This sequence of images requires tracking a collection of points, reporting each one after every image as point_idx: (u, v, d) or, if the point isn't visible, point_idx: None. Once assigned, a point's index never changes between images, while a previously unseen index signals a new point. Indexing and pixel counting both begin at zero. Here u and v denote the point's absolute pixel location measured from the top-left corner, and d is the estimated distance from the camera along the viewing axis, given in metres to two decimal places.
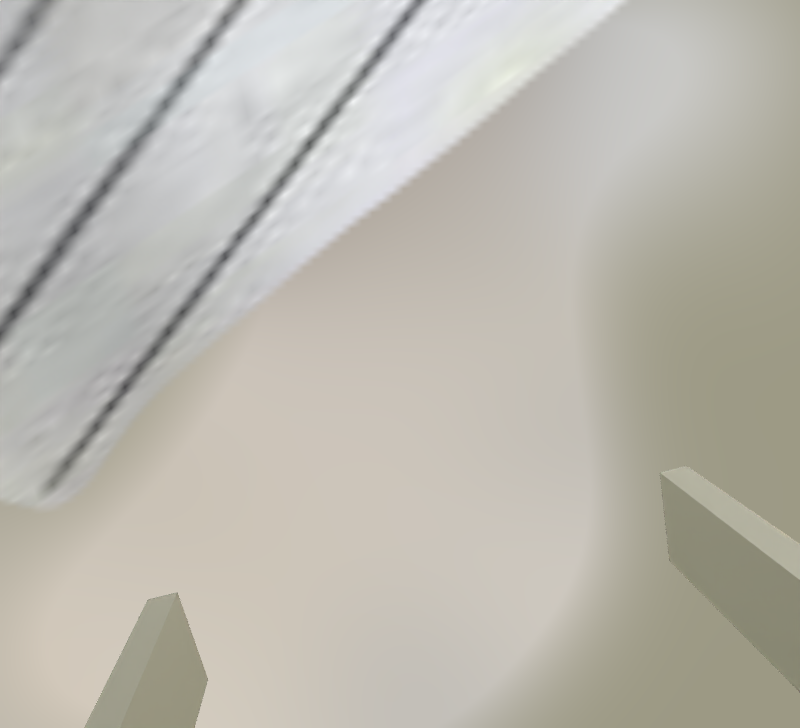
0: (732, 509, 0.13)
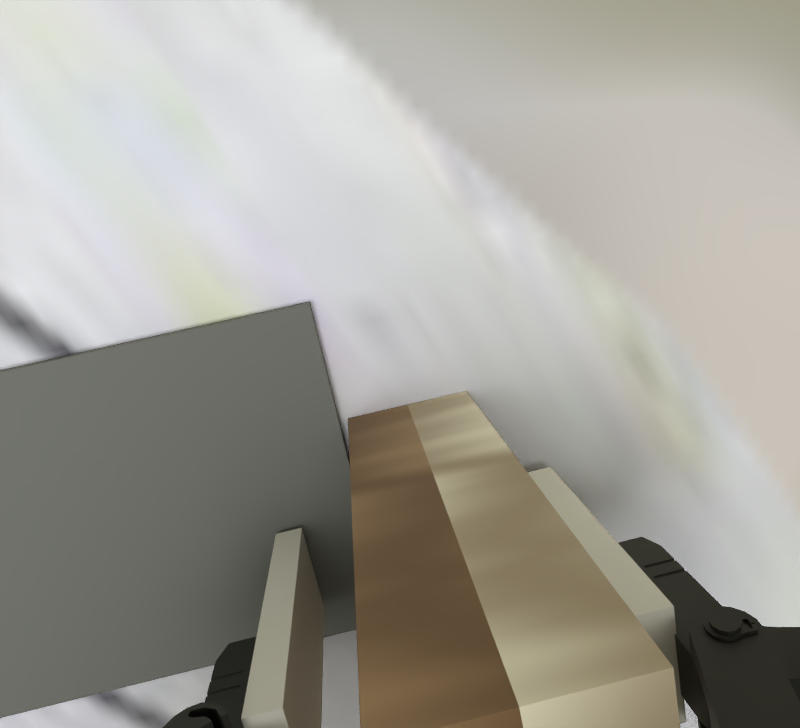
0: (571, 505, 0.15)
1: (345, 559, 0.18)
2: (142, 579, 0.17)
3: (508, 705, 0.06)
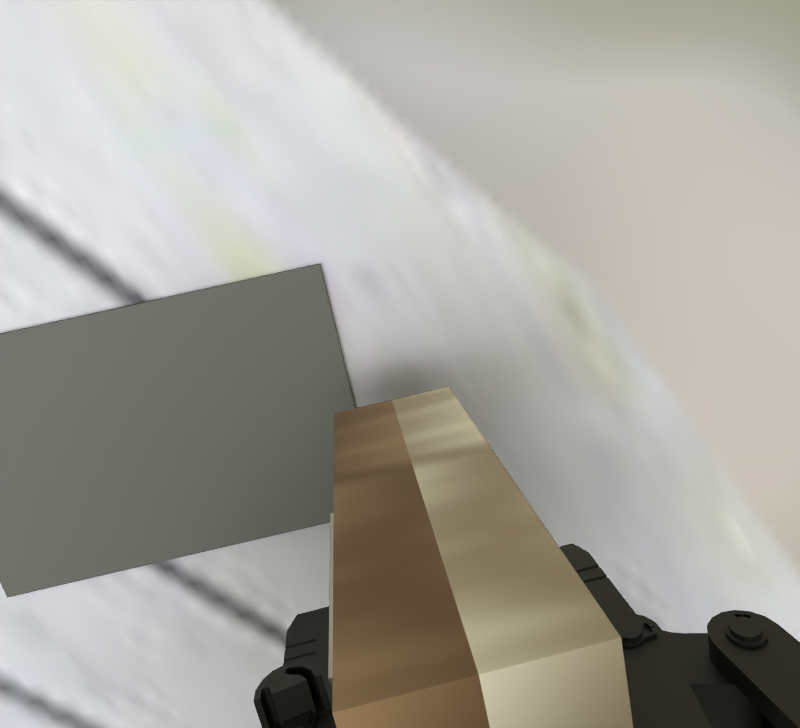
0: None
1: None
2: (194, 473, 0.23)
3: (468, 674, 0.07)
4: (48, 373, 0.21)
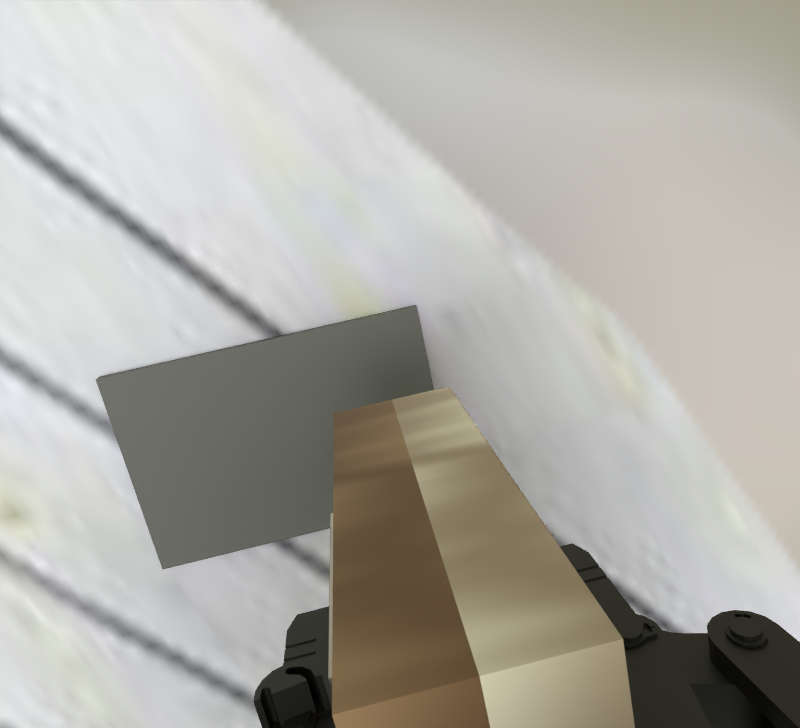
0: None
1: None
2: (314, 468, 0.29)
3: (469, 676, 0.07)
4: (208, 390, 0.28)
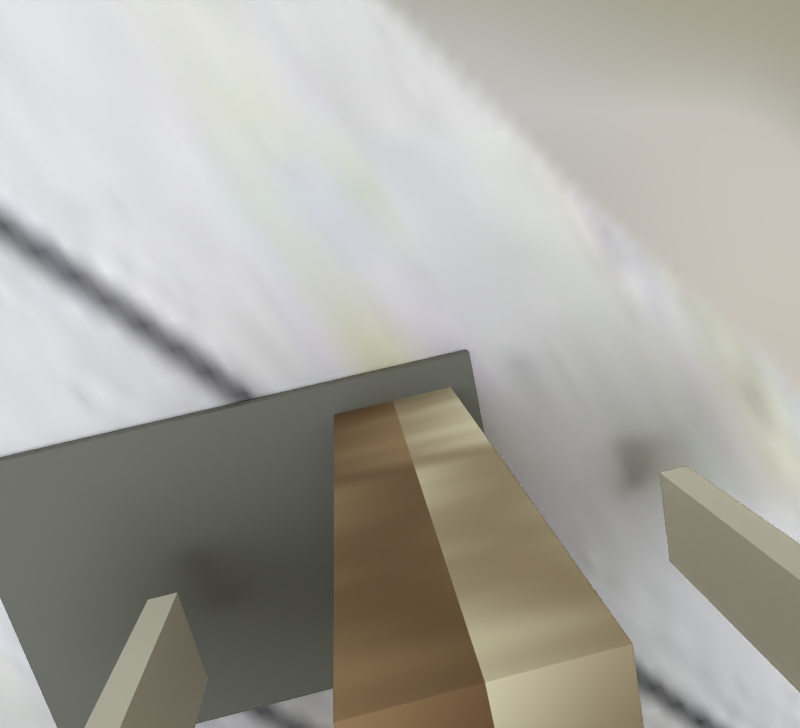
0: (732, 509, 0.13)
1: None
2: (304, 602, 0.19)
3: (474, 682, 0.07)
4: (132, 489, 0.17)
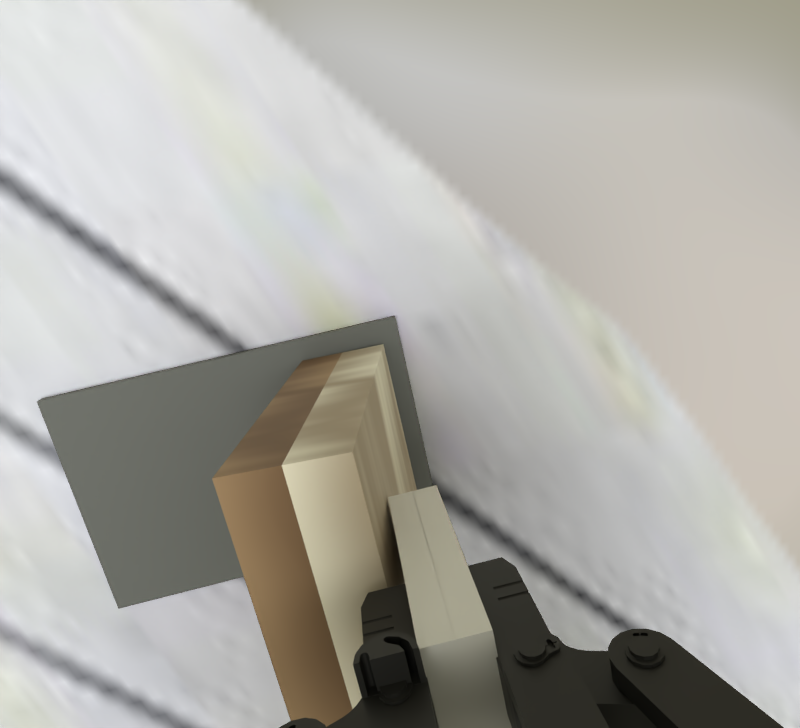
0: (439, 526, 0.15)
1: None
2: None
3: (277, 465, 0.14)
4: (163, 413, 0.25)
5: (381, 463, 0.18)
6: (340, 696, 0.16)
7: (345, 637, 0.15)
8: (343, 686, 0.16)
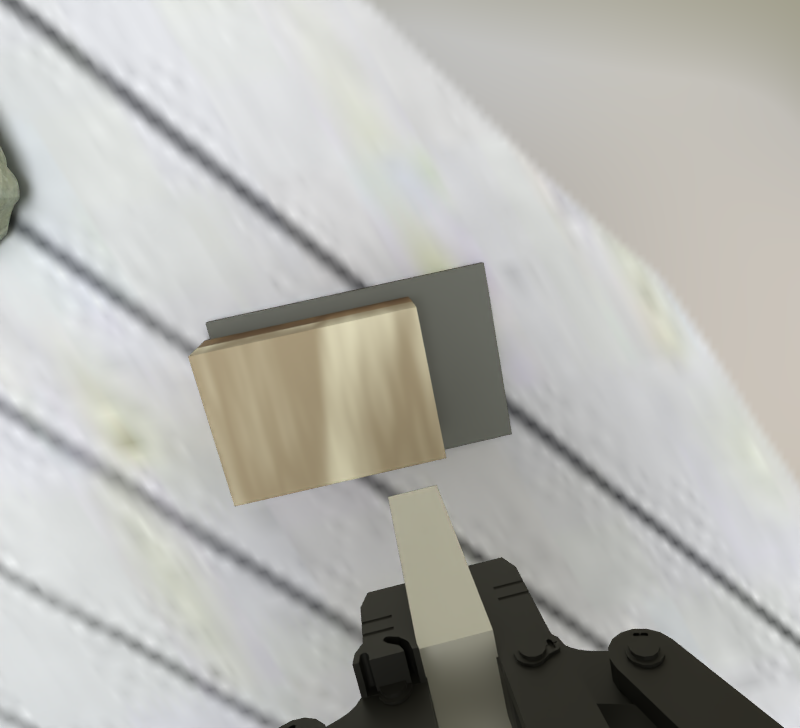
0: (440, 526, 0.15)
1: (491, 398, 0.34)
2: None
3: (198, 347, 0.30)
4: None
5: (273, 379, 0.29)
6: None
7: None
8: None
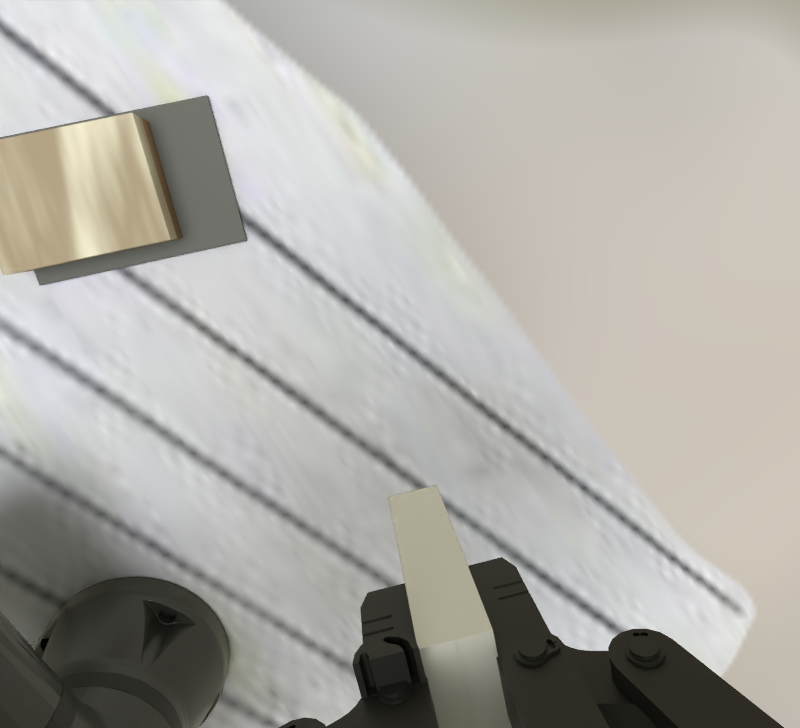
0: (440, 526, 0.15)
1: (226, 209, 0.43)
2: None
3: None
4: None
5: (24, 169, 0.38)
6: None
7: None
8: None
